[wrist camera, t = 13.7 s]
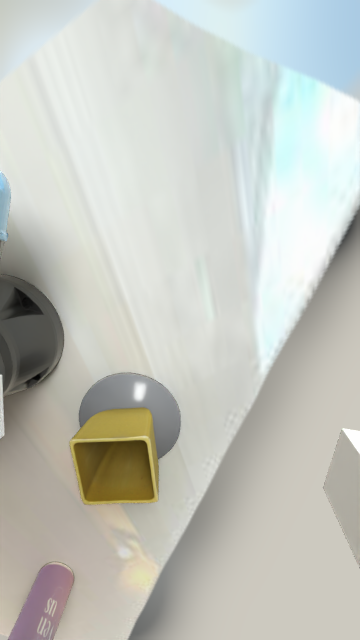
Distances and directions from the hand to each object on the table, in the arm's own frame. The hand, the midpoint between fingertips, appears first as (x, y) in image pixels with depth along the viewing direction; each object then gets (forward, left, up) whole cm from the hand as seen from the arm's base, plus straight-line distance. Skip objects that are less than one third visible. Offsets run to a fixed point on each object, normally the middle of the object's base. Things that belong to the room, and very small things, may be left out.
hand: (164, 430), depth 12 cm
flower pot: (-7, -18, -26) cm, 33 cm away
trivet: (-7, -18, -27) cm, 33 cm away
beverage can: (-20, -49, -27) cm, 59 cm away
